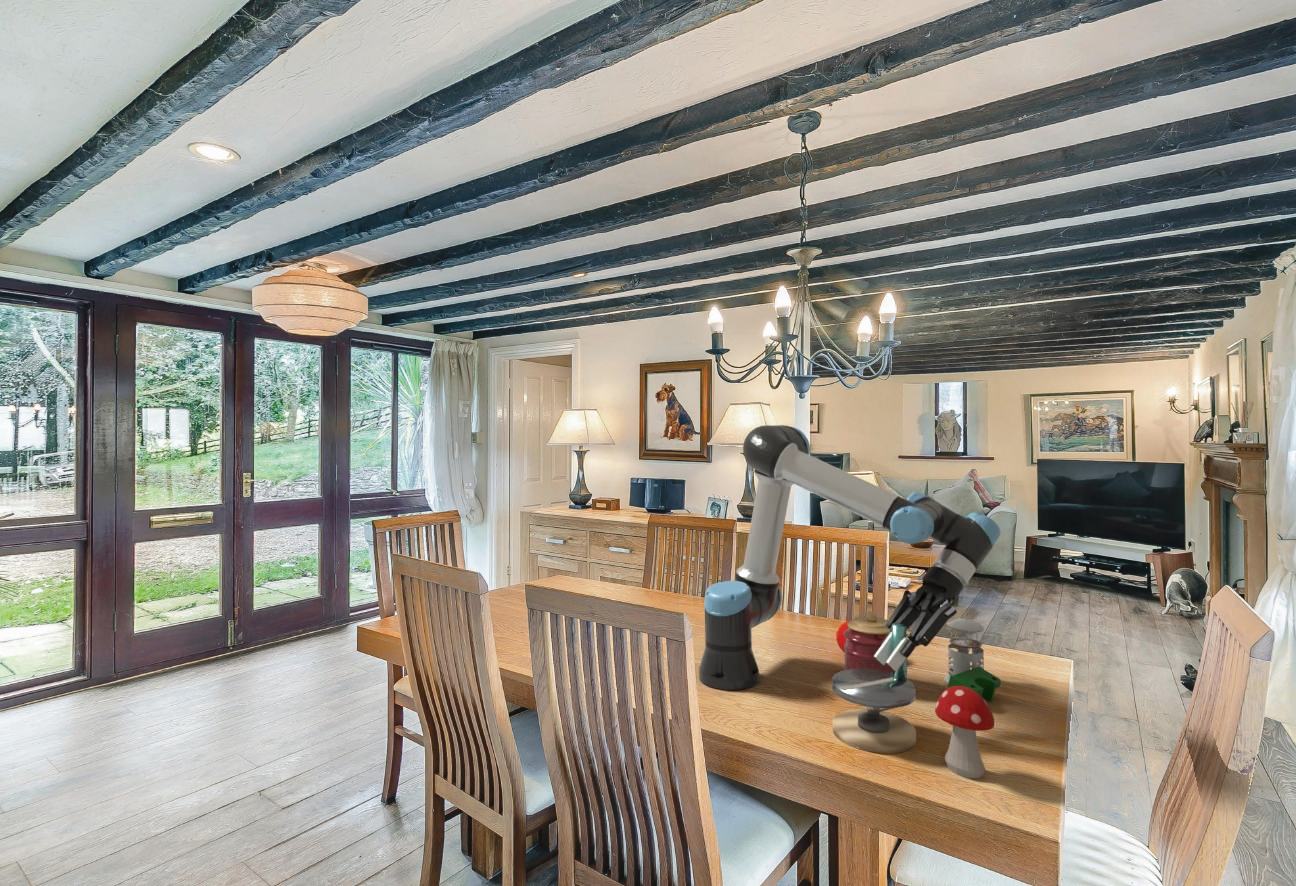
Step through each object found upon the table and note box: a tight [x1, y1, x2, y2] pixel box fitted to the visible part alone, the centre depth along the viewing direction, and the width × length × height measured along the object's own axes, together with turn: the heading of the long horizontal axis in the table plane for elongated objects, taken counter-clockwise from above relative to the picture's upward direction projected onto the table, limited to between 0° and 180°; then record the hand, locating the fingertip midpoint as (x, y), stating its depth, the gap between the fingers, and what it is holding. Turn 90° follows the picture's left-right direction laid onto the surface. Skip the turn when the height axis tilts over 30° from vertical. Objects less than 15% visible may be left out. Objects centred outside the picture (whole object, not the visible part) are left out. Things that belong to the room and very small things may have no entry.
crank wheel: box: [831, 623, 917, 720], centre depth 126 cm, size 16×16×18 cm
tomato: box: [835, 616, 856, 654], centre depth 169 cm, size 13×12×11 cm
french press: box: [943, 581, 985, 683], centre depth 152 cm, size 10×12×25 cm
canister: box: [844, 611, 892, 673], centre depth 151 cm, size 13×13×18 cm
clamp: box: [946, 667, 1002, 702], centre depth 141 cm, size 12×6×9 cm, turn 115°
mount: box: [832, 708, 917, 755], centre depth 126 cm, size 16×16×3 cm
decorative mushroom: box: [934, 686, 995, 780], centre depth 111 cm, size 10×9×15 cm
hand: (885, 663), depth 127 cm, fingers open, 3 cm apart
